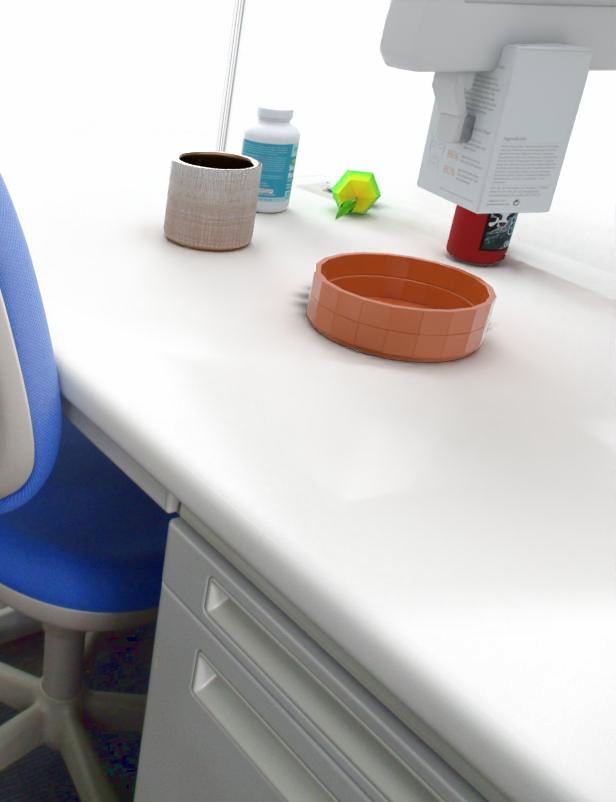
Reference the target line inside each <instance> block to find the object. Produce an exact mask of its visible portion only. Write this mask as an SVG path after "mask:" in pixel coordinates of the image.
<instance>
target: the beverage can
mask: <svg viewBox="0 0 616 802" xmlns="http://www.w3.org/2000/svg"><path fill="white" fill-rule="evenodd" d="M518 215H519V213H490V214H476V213H474V212H472V211H470V210H468V209H466V208H463V207H461V206H459V205H457V204H456V206H455V210H454V214H453V217H452V218H453V219H452V222H451V225H450V229H449V234H448V238H447V242H446V246H445V250H446V251H447V253H448V254H450V256H451V257H452V259H454V260H456V261H459V262H461V263H464V264H468V265H473V266H481V267H482V266H483V267H484V266H485V267H486V266H493V265H495V264H497V263H499V262H502V261H504V260H505V259H506V256H507V252H508V250H509V246H510V243H511V239H512V236H513V232H514V229H515V226H516V223H517V220H518Z"/></svg>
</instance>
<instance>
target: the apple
mask: <svg viewBox="0 0 616 802" xmlns="http://www.w3.org/2000/svg"><path fill="white" fill-rule="evenodd" d="M330 190H331V194H332V195H333V198H334V201H335V204H336V206H337V209H338V211H337V213H336V215H335V218H334V221H336V220H338V219H340V218H341V217H344V216H346V215H348V214H354V215H362V216H365V215H366V213H368V211H369V210H370V209H371V208H372V207H373V205H374V204H375V203H376V202H377V201H378V200H379V199H380V198H381V196H382V194H381V192H380V188H379V186H378V183H377V180H376V177H375V174H374V172H369V171H360V170H352V169H347V170H346V171H345V172H344V174H343V175H342V176H341V177H340V178H339V179H338V180H337V182H336V183H335V184H334V185H333V187H332V188H331V189H330Z"/></svg>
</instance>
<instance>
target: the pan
mask: <svg viewBox="0 0 616 802" xmlns="http://www.w3.org/2000/svg"><path fill="white" fill-rule="evenodd" d="M496 300H497V294H496V292H495V290H494V287H493V286H492V285H490V284H489V283H488V282H486V281H485V280H484V279H482V278H481V277H479V276H477V275H475V274H473V273H470V272H468V271H466V270H464V269H462V268H460V267H456V266H452V265H449V264H445V263H444V262H439V261H436V260H431V259H426V258H421V257H417V256H412V255H407V254H405V255H404V254H397V253H390V252H389V253H388V252H371V251H370V252H369V251H368V252H367V251H357V252H356V251H355V252H344V253H343V252H342V253H337V254H333V255H329V256H326V257H323V258H322V259H320V260H319V261H318V262H316V263H315V264H314V268H313V274H312V279H311V285H310V289H309V296H308V300H307V307H306V316H307V318H309V321H310V324H311V325H312V326H313V328H314V327H315V328H316V329H317V330H318V331H319V332H318V331H317V330H316V329H315V328H314V329H315V330H316V331H317V332H318V333H320V334H321V333H322V334H323V335H322V334H321V335H322V336H323V337H325V338H327V339H329V340H330V341H332V342H334V341H335V342H334V343H336V344H338V343H339V345H341V346H343V347H345V346H346V348H348V347H349V348H348V349H351V350H353V349H354V351H356V350H357V352H359V353H363V354H367V355H370V354H371V355H370V356H374V357H379V358H383V357H384V359H389V360H394V361H403V362H411V363H412V362H414V363H441V362H442V363H443V362H451V361H456V360H459V359H462V358H465V357H467V356H469V355H471V354H473V352H475V351H477V350H479V349H480V347H481V346H482V344H483V342H484V341H485V337H486V335H487V332H488V329H489V324H490V321H491V318H492V313H493V311H494V307H495V304H496Z"/></svg>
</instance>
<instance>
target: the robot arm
mask: <svg viewBox="0 0 616 802" xmlns="http://www.w3.org/2000/svg"><path fill="white" fill-rule="evenodd" d="M538 43H559V44H568V45H575V46H581V47H588V48H594V49H595V51H594V55H593V58H592V62H591V66H590V69H589V72H590V71H592V72H593V71H594V72H595V71H596V72H597V71H603V72H604V71H606V72H607V71H608V72H609V71H616V0H390V2H389V4H388V8H387V12H386V15H385V19H384V22H383V26H382V30H381V35H380V41H379V52H380V54H381V57H382V61H383V62H384V64H385V65H386V66H387V67H391V68H394V69H398V70H402V71H403V70H404V71H408V72H409V71H410V72H416V73H417V72H418V73H434V75H433V79H432V82H431V83H432V84H431V88H432V91H433V95H434V100H435V99H436V102H437V106H438V110H439V112H440V117H439V122H438V126H437V131H436V138H437V140H438V141H441V142H445V143H448V144H455V143H466V142H469V140H470V139H471V136H472V131H471V130H472V129H473V128H474V123H475V119H476V117H475V116H471V115H467V109H466V102H465V94H464V89H465V90H470V89H471V88H472V85H473V81H474V77H475V73H476V71H494V70H495V69H496V68H497V66H498V63H499V60H500V57H501V54H502V50H503V47H505V46H507V45H515V44H538Z"/></svg>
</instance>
